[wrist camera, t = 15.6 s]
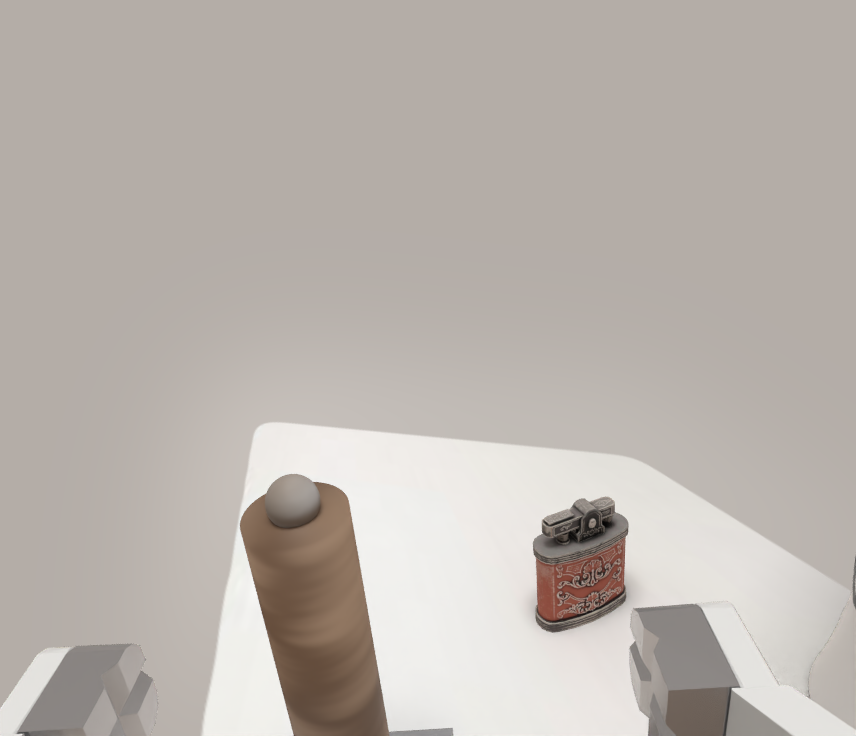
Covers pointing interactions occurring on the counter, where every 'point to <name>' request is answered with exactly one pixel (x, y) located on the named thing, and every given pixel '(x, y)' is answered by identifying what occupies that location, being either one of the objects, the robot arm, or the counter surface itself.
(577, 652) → the counter surface
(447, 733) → the tray
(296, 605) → the pepper mill
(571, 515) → the lighter
